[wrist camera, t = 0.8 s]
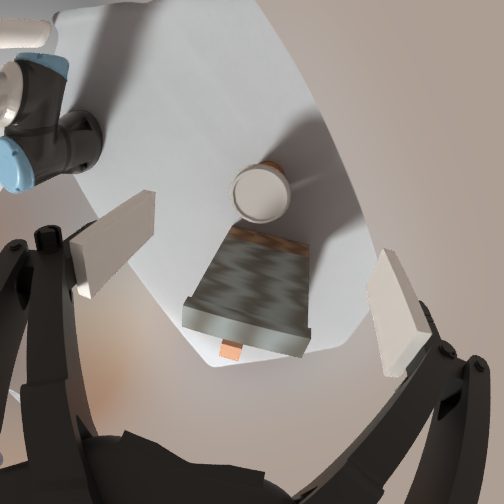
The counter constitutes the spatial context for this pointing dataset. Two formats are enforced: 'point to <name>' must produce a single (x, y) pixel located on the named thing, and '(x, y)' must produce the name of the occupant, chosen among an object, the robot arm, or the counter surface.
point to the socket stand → (254, 293)
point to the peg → (230, 349)
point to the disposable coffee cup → (260, 192)
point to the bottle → (23, 33)
